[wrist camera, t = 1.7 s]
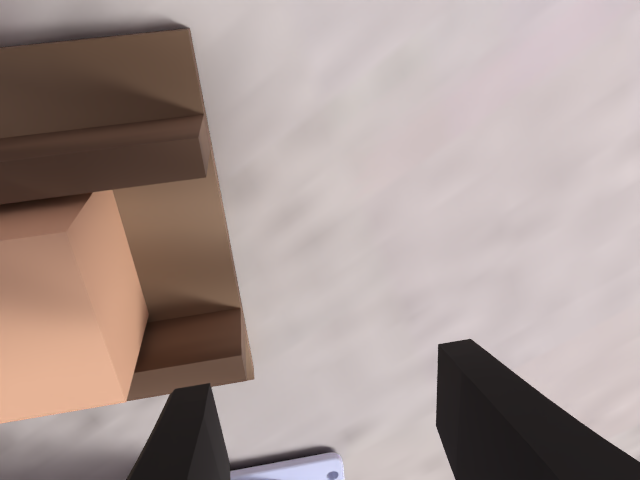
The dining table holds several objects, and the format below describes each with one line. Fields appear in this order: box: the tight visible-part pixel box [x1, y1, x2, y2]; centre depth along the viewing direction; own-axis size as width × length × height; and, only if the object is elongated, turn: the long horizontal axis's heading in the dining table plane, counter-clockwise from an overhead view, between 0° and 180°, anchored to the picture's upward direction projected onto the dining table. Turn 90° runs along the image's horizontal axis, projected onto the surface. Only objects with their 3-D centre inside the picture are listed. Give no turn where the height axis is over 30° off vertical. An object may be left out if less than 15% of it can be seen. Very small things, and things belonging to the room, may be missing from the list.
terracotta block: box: [0, 190, 149, 423], centre depth 14 cm, size 5×6×4 cm
